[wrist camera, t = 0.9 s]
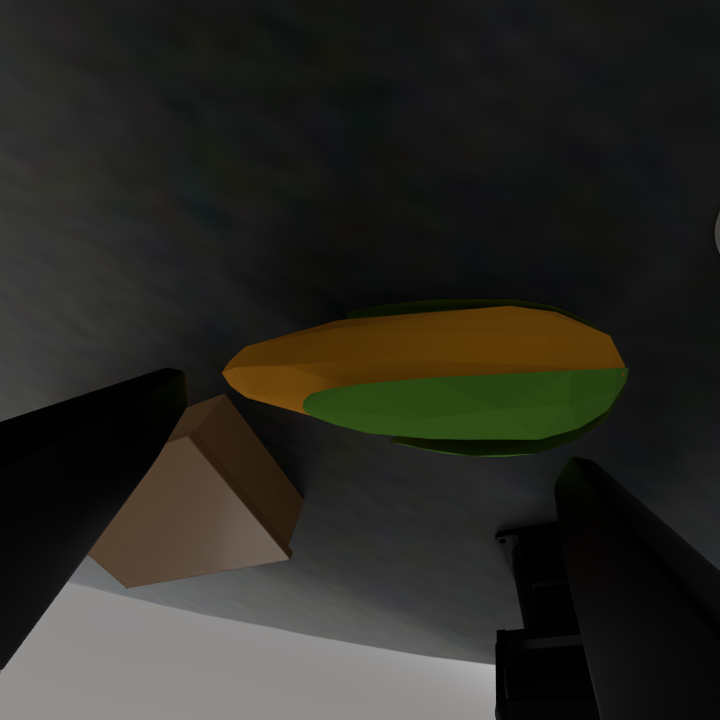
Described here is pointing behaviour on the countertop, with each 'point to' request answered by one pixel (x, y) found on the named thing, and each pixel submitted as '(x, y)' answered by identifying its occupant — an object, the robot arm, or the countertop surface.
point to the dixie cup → (717, 232)
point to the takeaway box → (202, 504)
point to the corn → (444, 375)
